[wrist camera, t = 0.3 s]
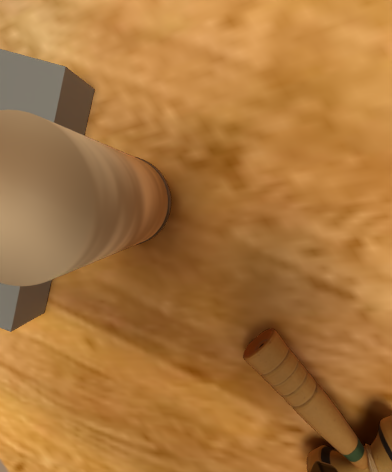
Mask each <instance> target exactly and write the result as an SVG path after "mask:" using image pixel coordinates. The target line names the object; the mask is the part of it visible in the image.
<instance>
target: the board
mask: <svg viewBox="0 0 392 472" xmlns="http://www.w3.org/2000/svg"><path fill="white" fill-rule="evenodd" d="M94 90H95V89H94V88H92V87H91V86H90V85H88V84H87V83H86V82H85V81H83V80H82V79H81V78H79V77H78V76H77V75H76V74H74V73H73V72H72V71H70V70H69V69H68V68H67V67H65V66H61V65H57V64H54V63H50V62H46V61H43V60H39V59H35V58H31V57H28V56H24V55H20V54H17V53H13V52H9V51H6V50H2V49H0V110H19V111H24V112H29V113H32V114H34V115H37V116H40V117H42V118H44V119H47V120H49V121H51V122H54V123H56V124H58V125H61V126H63V127H65V128H68V129H70V130H72V131H75V132H77V133H79V134H82V135H84V134H85V130H86V125H87V121H88V116H89V112H90V107H91V103H92V98H93V94H94ZM51 281H52V280H49V281H47V282H44V283H41V284H37V285H31V286H12V285H6V284H3V283H0V328H2V329H5V330H8V331H10V332H11V331H13V330H15V329H17V328H18V327H20V326H22V325H24V324H25V323H27V322H29V321H31V320H32V319H34V318H36V317H38V316H39V315H41V314H43V313H44V312H45V307H46V303H47V298H48V294H49V290H50V285H51Z"/></svg>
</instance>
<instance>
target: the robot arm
mask: <svg viewBox="0 0 392 472" xmlns="http://www.w3.org/2000/svg"><path fill="white" fill-rule="evenodd" d="M310 472H338V471H337V469H336V468H335V467H334V466H333V465H331V464H328V463H324V462H321V461H316V462H314V464H313V466H312V468H311V471H310Z"/></svg>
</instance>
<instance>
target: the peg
mask: <svg viewBox="0 0 392 472" xmlns="http://www.w3.org/2000/svg"><path fill="white" fill-rule="evenodd" d="M170 210H171V194H170V189H169V186H168V184H167V182H166V180H165V178H164V176H163V175H162V174H161V172H160V171H159V170H158V169H157V168H156V167H154V166H153V165H152V164H150V163H148V162H147V161H145V160H142V159H140V158H137V157H133V156H131V155H128V154H126V153H124V152H121V151H119V150H117V149H114V148H112V147H110V146H107V145H105V144H103V143H100V142H98V141H96V140H93V139H91V138H89V137H86V136H84V135H82V134H79V133H77V132H75V131H72V130H70V129H68V128H65V127H63V126H61V125H58V124H56V123H54V122H51V121H49V120H47V119H44V118H42V117H40V116H37V115H34V114H32V113H29V112H24V111H19V110H0V283H3V284H6V285H12V286H31V285H37V284H41V283H44V282H47V281H49V280H52V279H54V278H57V277H59V276H62V275H64V274H66V273H69V272H71V271H74V270H76V269H78V268H81V267H83V266H86V265H88V264H90V263H93V262H95V261H98V260H100V259H102V258H105V257H107V256H110V255H112V254H115V253H117V252H119V251H122V250H124V249H127V248H129V247H131V246H134V245H137V244H140V243H143V242H145V241H148V240H150V239H151V238H153V237H154V236H156V235H157V234H158V233H159V232H160V231H161V230H162V229H163V227H164V226H165V224H166V222H167V220H168V218H169V215H170Z"/></svg>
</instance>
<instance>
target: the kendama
mask: <svg viewBox="0 0 392 472" xmlns="http://www.w3.org/2000/svg"><path fill="white" fill-rule="evenodd" d="M243 358H244V360H245V361H246V362H247V363H248V364H250V365H251V366H252V367H253V368H254V369H255V370H256V371H257V372H258V373H259V374H261V376H262V377H263V378H264V379H265V380H266V381H267V382H268V383H269V384H270V385H271V386H272V387H273V388H274V389H275V390H276V391H277V392H278V393H279V394H280V395H281V396H282V397H283V398H284V399H285V400H286V402H288V404H289V405H291V406H292V407H293V409H294V410H295V411H296V412H297V413H298V414H299V415H300V416H301V417H302V418H303V419H304V420H305V421H306V422H307V423H308V424H309V425H310V426H311V427H312V428H313V429H314V430H315V431H316V432H317V433H319V434H320V435H321V436H322V437H323V438H324V439H325V440H326V441H328V442H329V443H330V444H331V445H332V446H333V447H334V448H335V449H336V450H338V451H339V452H338V451H336V450H334V449H331V448H330V447H328V446H325V445H322V446H320V447H318V448H316V449H314V450H312V451H311V452H309V454H308V457H307V471H308V472H310V471H311V468H312V466H313V464H314V462H316V461H321V462H324V463H328V464H331V465H333V466H334V467H335V468H336V469H337V471H338V472H392V415H391V416H388V417H385V418H383V419H381V420H380V425H379V430H378V434H377V436H376V438H375V440H374V442H373V443H372V444H371V445H369V444H365V446H363V445H362V444H361V442H360V440H359V439H358V437H357V436H356V435H355V433H354V432H353V430H352V429H351V427H350V426H349V424H348V423H347V421H346V420H345V419H344V417H343V416H342V414H341V413H340V412H339V410H338V409H337V408H336V406H335V405H334V404H333V402H332V401H331V400H330V398H329V397H328V396H327V395H326V393H325V392H324V391H323V390H322V388H321V387H320V386H319V385H318V384H317V383H316V382H315V380H314V379H313V377H312V376H311V375H310V374H309V372H308V371H307V370H306V369H305V367H304V366H303V365H302V364H301V363H300V361H299V360H298V359H297V358H296V356H295V355H294V354H293V353H292V351H291V350H290V349H289V348H288V346H287V345H286V344H285V342H284V341H283V340H282V338H281V337H280V336H279V334H278V333H277V332H276V330H275V329H273V328H271V329H267V330H265V331H263V332H262V333H261V334H260V335H259V336H258V337H256V338H255V339H253V340H252V342H251V343H250V344H249V345H248V346H247V348H246V350H245V352H244V355H243Z"/></svg>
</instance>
